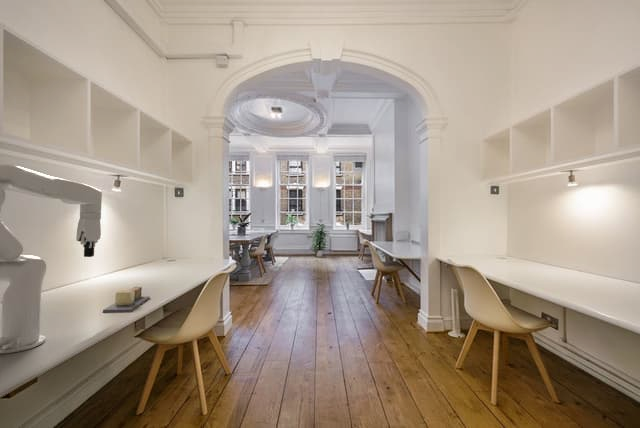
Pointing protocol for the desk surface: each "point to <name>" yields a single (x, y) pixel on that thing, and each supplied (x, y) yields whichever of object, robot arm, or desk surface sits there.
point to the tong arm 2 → (137, 292)
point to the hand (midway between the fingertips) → (88, 256)
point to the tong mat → (127, 306)
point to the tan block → (124, 297)
